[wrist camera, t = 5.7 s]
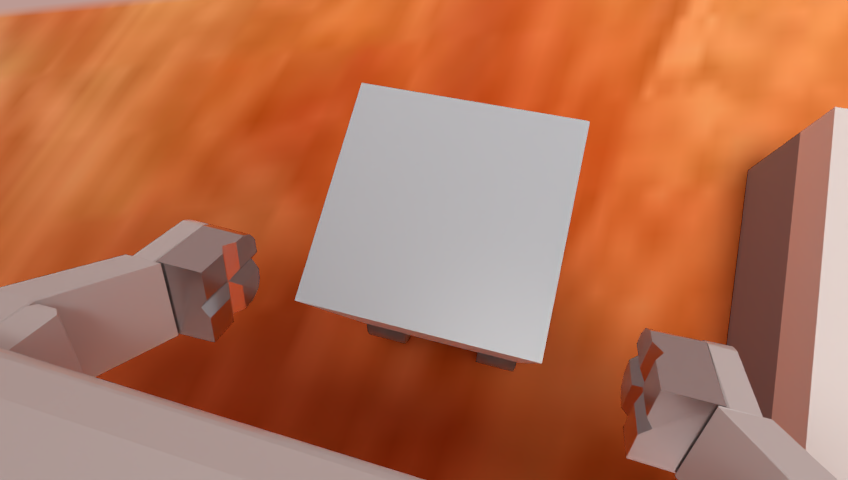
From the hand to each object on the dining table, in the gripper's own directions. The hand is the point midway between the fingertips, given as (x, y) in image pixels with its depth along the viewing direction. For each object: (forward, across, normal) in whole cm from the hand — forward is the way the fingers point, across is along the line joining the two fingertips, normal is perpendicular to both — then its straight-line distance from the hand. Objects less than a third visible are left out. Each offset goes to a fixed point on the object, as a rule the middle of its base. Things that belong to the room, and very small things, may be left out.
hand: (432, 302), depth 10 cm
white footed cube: (+6, 0, +4) cm, 8 cm away
